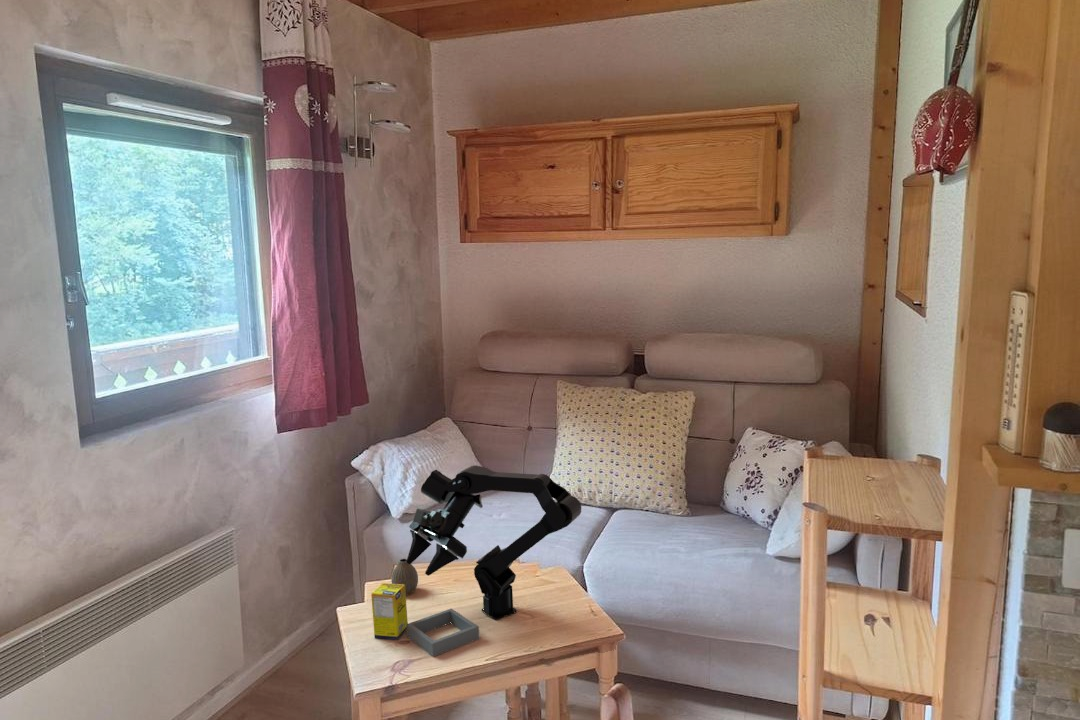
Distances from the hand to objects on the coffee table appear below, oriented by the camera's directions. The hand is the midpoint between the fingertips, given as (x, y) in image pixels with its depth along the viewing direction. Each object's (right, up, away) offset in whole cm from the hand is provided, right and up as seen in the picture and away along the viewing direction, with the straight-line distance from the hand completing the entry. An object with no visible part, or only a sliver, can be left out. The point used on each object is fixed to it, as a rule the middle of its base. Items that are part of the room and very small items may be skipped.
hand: (417, 568), depth 176 cm
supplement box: (-6, -14, -3) cm, 16 cm away
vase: (-6, -12, +19) cm, 23 cm away
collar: (+7, -14, -6) cm, 17 cm away
